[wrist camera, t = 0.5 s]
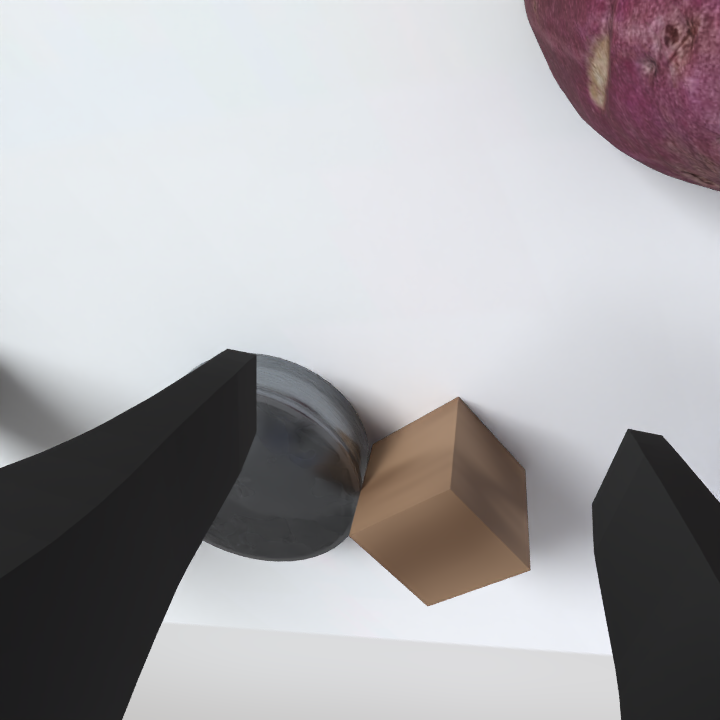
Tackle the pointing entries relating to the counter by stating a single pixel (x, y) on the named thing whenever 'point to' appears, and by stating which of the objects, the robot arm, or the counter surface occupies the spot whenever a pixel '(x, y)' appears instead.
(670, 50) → the vegetable
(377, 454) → the walnut block
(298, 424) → the grey tin
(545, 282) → the counter surface
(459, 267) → the counter surface
